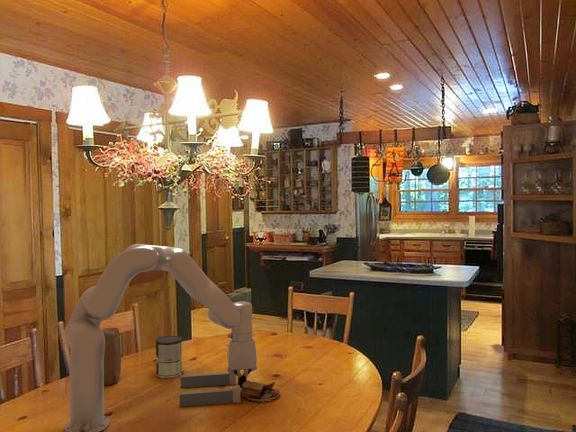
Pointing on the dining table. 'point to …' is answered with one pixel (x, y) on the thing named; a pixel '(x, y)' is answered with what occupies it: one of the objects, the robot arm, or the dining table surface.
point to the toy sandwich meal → (259, 391)
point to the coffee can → (168, 356)
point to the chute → (209, 396)
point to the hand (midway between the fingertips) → (242, 386)
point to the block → (112, 356)
